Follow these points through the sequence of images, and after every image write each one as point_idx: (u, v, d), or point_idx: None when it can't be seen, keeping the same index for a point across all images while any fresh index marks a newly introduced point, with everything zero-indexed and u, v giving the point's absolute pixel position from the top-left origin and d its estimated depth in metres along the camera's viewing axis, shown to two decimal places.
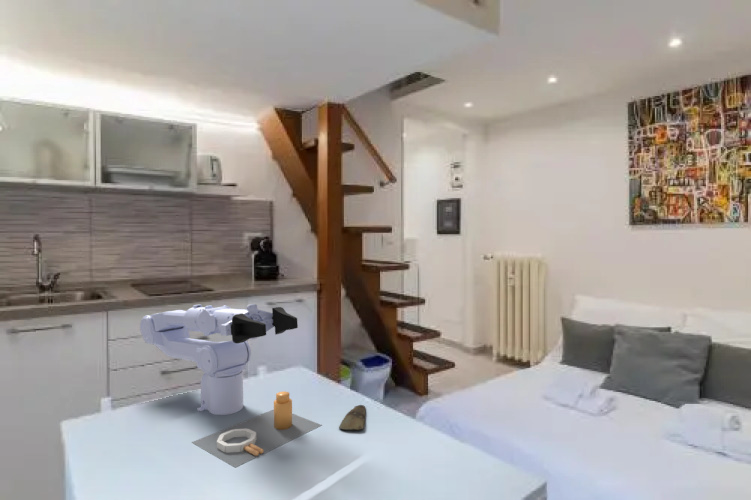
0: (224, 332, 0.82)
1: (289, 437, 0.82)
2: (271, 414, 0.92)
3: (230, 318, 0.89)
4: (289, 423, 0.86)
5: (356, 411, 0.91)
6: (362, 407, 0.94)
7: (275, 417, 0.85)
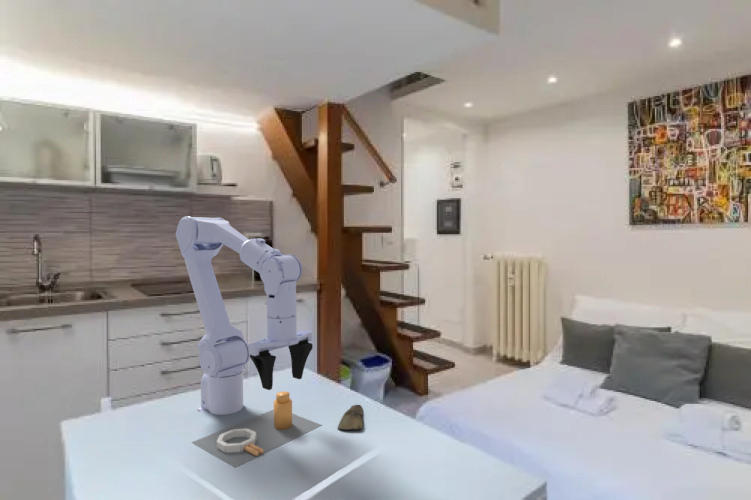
0: (250, 352, 0.81)
1: (289, 437, 0.82)
2: (271, 414, 0.92)
3: (275, 321, 0.83)
4: (289, 423, 0.86)
5: (353, 411, 0.91)
6: (359, 407, 0.94)
7: (275, 417, 0.85)
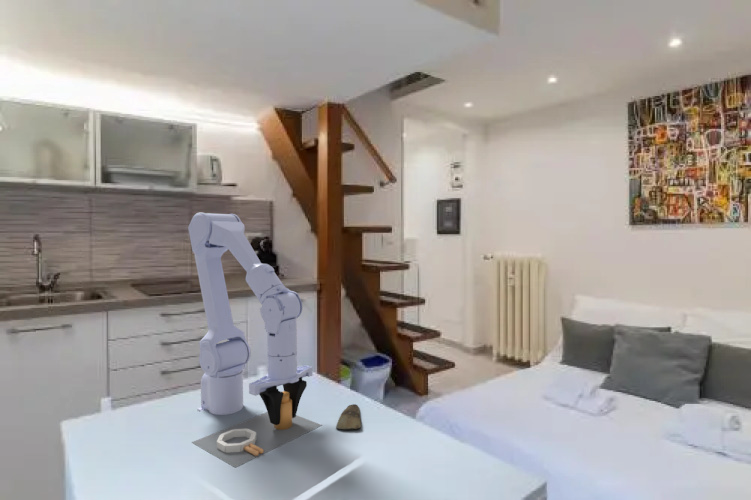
0: (250, 391, 0.81)
1: (289, 437, 0.82)
2: None
3: (276, 360, 0.83)
4: (289, 423, 0.86)
5: (351, 411, 0.91)
6: (356, 406, 0.95)
7: None
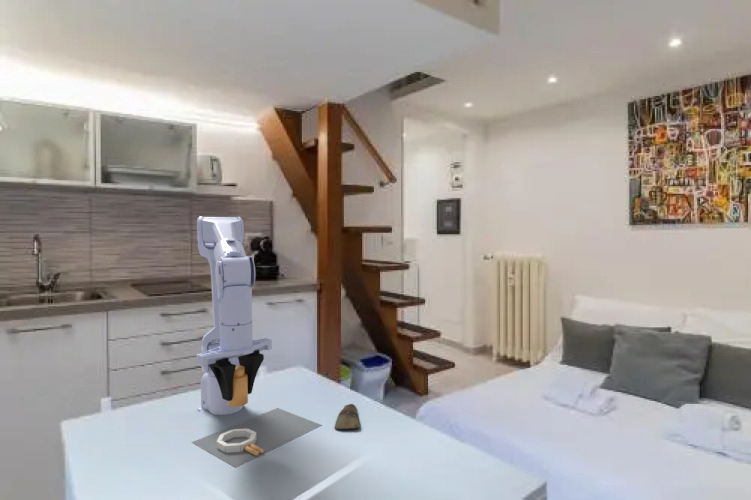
0: (198, 363, 0.74)
1: (289, 437, 0.82)
2: (271, 414, 0.92)
3: (228, 329, 0.76)
4: (244, 400, 0.78)
5: (348, 410, 0.91)
6: (353, 406, 0.95)
7: None
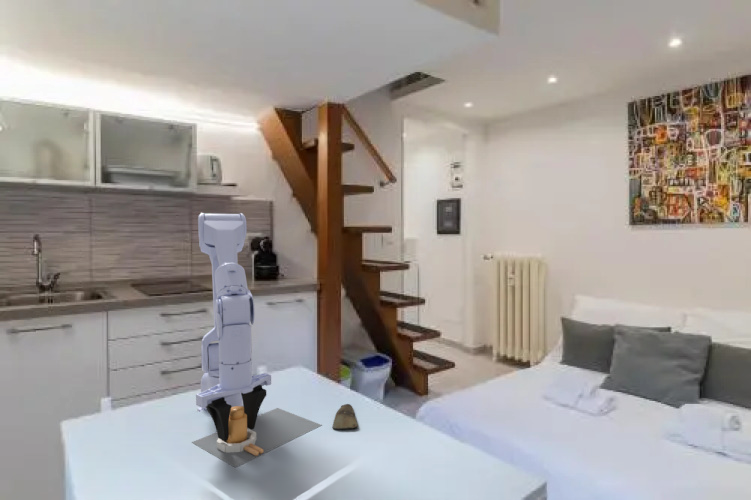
0: (197, 403, 0.74)
1: (289, 437, 0.82)
2: (271, 414, 0.92)
3: (227, 368, 0.76)
4: (243, 441, 0.79)
5: (345, 410, 0.92)
6: (349, 406, 0.95)
7: None
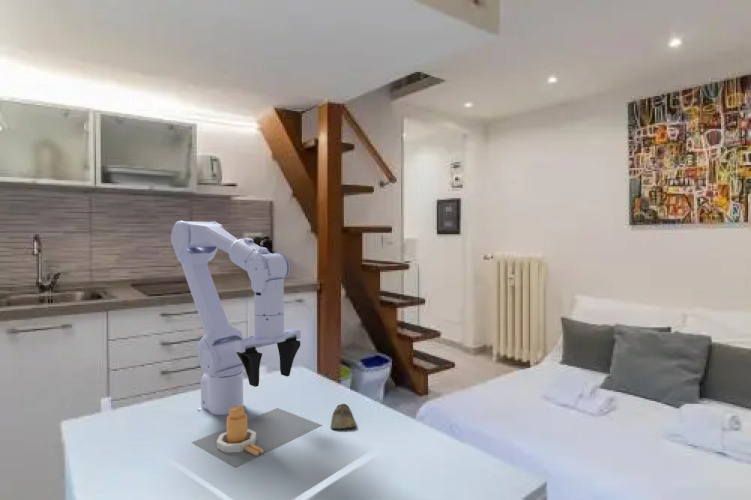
0: (236, 349, 0.81)
1: (289, 437, 0.82)
2: (271, 414, 0.92)
3: (262, 319, 0.84)
4: None
5: (342, 410, 0.92)
6: (346, 406, 0.95)
7: (228, 434, 0.78)
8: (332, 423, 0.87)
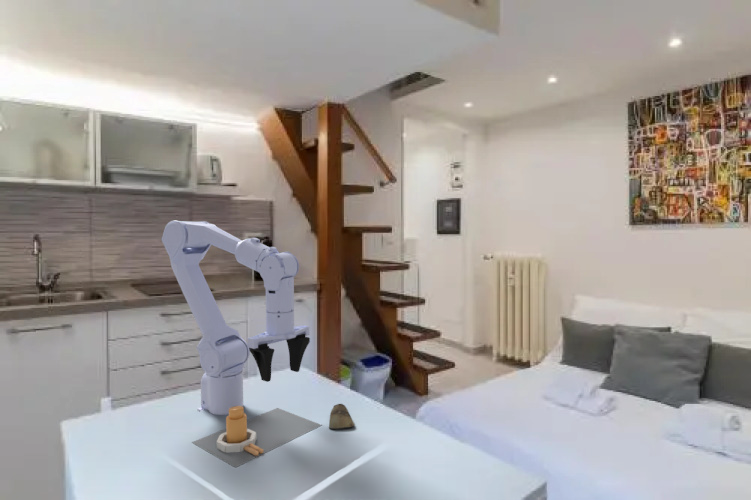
0: (249, 345, 0.84)
1: (289, 437, 0.82)
2: (271, 414, 0.92)
3: (274, 316, 0.87)
4: (243, 441, 0.79)
5: (340, 410, 0.92)
6: (343, 405, 0.95)
7: (227, 434, 0.78)
8: (330, 423, 0.87)
